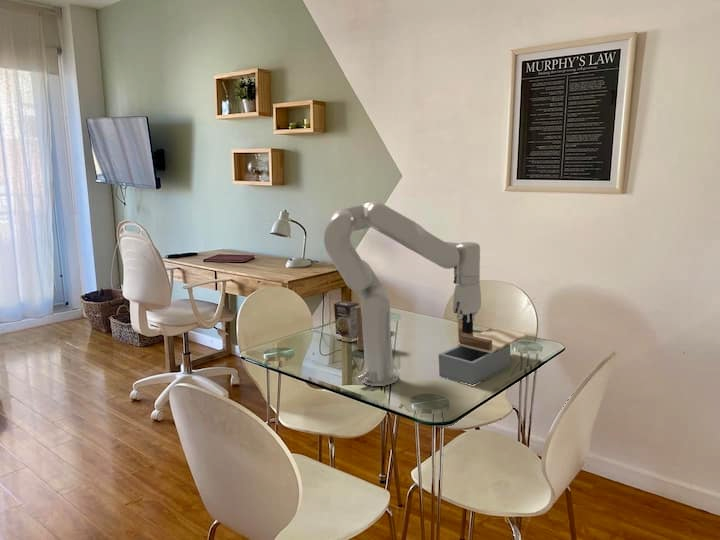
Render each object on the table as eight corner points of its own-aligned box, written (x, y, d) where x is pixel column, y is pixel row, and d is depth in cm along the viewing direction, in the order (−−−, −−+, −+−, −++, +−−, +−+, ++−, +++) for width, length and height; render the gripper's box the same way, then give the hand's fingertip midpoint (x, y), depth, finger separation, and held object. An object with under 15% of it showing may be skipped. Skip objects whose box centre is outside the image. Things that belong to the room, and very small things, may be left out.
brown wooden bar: (467, 351, 207) (466, 306, 204) (458, 349, 210) (457, 304, 207) (473, 348, 210) (472, 304, 206) (465, 346, 213) (463, 302, 209)
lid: (491, 353, 180) (491, 342, 180) (457, 345, 191) (457, 334, 190) (526, 336, 195) (526, 326, 194) (493, 329, 205) (492, 319, 204)
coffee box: (335, 339, 232) (333, 303, 229) (345, 335, 236) (343, 300, 233) (351, 343, 226) (349, 306, 223) (361, 339, 231) (359, 302, 227)
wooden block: (384, 350, 215) (381, 306, 211) (357, 351, 216) (354, 307, 212) (384, 347, 218) (382, 304, 215) (358, 348, 219) (355, 305, 216)
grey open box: (473, 386, 175) (472, 363, 174) (439, 376, 185) (438, 354, 184) (510, 366, 190) (510, 345, 188) (477, 358, 200) (476, 337, 198)
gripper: (472, 274, 187) (471, 325, 191) (444, 281, 177) (444, 335, 181) (490, 277, 182) (489, 330, 185) (463, 285, 172) (463, 340, 175)
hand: (467, 332), depth 183 cm, fingers closed
